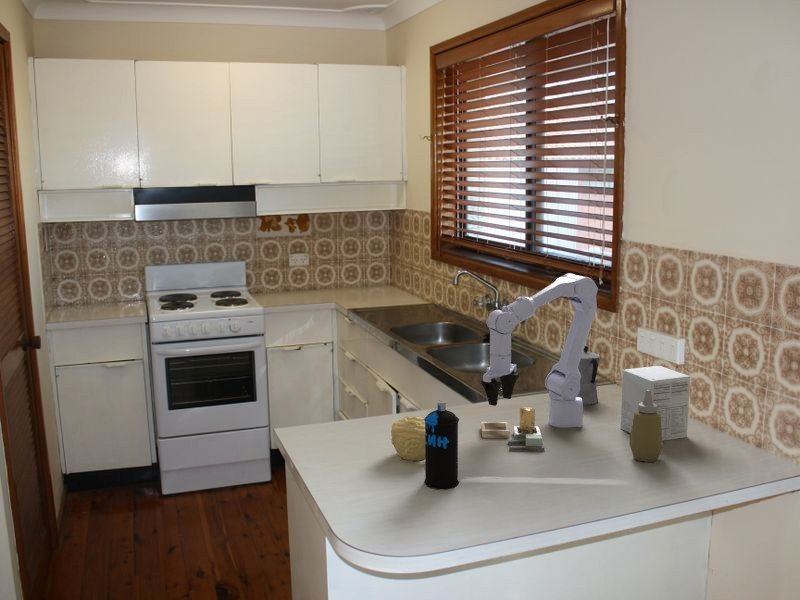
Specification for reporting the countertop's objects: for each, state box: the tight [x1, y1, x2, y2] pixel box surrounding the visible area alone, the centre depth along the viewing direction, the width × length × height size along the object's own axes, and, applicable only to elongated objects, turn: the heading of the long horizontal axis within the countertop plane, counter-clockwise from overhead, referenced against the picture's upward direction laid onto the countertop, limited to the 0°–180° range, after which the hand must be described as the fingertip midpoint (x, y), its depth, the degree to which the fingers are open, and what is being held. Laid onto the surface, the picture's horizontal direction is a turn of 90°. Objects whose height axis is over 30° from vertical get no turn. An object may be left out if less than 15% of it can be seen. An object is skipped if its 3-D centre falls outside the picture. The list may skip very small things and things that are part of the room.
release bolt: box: [524, 434, 543, 447], centre depth 206 cm, size 4×3×3 cm
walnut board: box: [507, 439, 546, 452], centre depth 213 cm, size 17×19×2 cm
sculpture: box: [390, 416, 425, 462], centre depth 203 cm, size 12×12×11 cm
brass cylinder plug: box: [519, 406, 536, 434], centre depth 214 cm, size 4×4×8 cm
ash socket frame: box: [480, 421, 511, 439], centre depth 218 cm, size 7×7×2 cm
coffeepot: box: [577, 345, 601, 406], centre depth 248 cm, size 15×9×18 cm, turn 9°
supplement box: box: [620, 365, 691, 442], centre depth 219 cm, size 13×13×18 cm
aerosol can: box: [423, 400, 460, 490], centre depth 185 cm, size 8×8×20 cm
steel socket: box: [512, 425, 542, 440], centre depth 214 cm, size 7×7×2 cm
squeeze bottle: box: [629, 390, 663, 463], centre depth 200 cm, size 8×8×18 cm
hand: (500, 401), depth 218 cm, fingers open, 7 cm apart
